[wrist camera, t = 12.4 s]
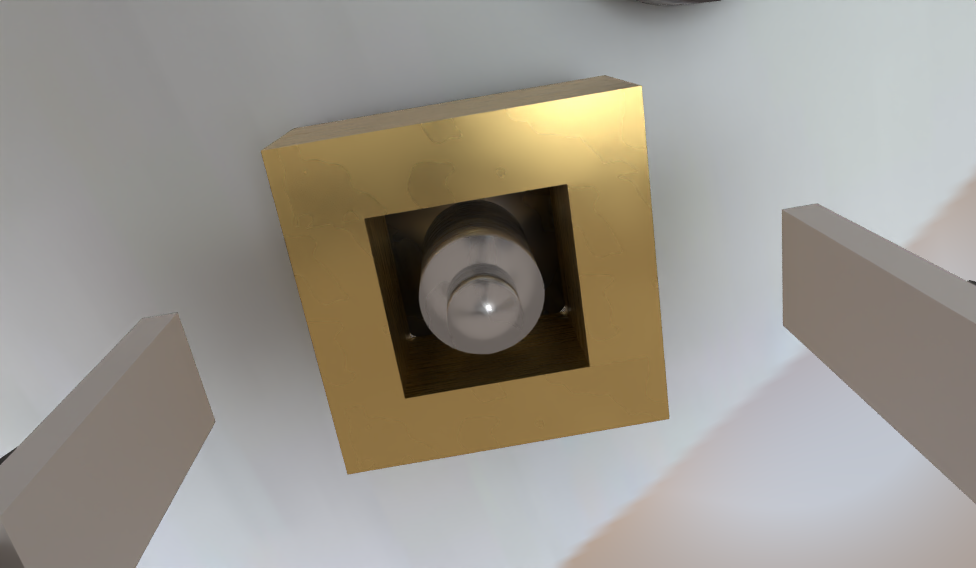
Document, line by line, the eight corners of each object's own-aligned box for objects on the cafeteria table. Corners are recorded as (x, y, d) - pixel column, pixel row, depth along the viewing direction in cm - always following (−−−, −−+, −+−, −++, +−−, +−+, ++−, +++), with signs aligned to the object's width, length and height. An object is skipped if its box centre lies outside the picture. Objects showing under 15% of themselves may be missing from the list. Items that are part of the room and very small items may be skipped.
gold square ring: (362, 402, 24) (347, 474, 20) (294, 128, 20) (260, 150, 17) (632, 356, 24) (669, 418, 20) (604, 75, 20) (641, 85, 17)
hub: (345, 286, 25) (303, 399, 17) (408, 96, 23) (392, 130, 15) (527, 345, 26) (562, 475, 18) (602, 170, 24) (676, 235, 16)
